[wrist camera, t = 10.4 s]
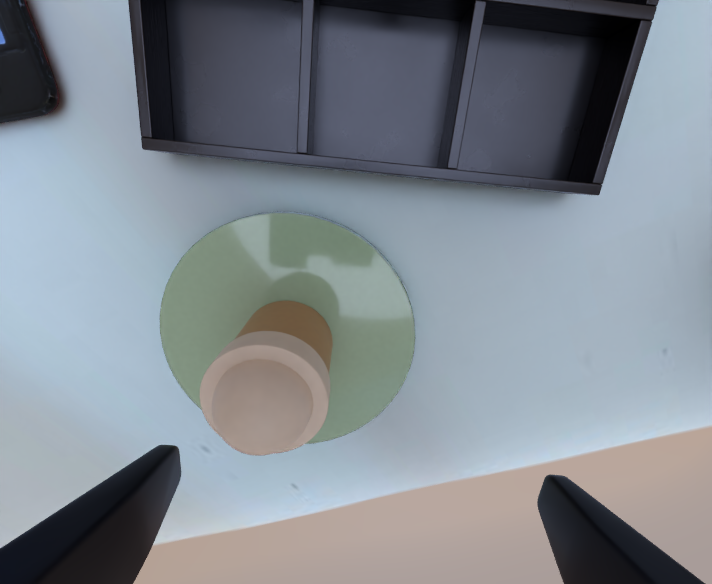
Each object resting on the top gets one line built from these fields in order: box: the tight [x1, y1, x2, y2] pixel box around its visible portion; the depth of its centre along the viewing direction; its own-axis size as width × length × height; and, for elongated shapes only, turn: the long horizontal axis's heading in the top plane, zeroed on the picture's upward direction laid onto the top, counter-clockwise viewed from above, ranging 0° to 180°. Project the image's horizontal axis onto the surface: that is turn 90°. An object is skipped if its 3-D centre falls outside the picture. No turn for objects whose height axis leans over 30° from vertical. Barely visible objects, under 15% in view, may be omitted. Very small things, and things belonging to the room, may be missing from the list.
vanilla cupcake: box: [200, 301, 333, 455], centre depth 16 cm, size 6×6×8 cm
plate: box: [160, 211, 415, 444], centre depth 20 cm, size 15×15×1 cm
